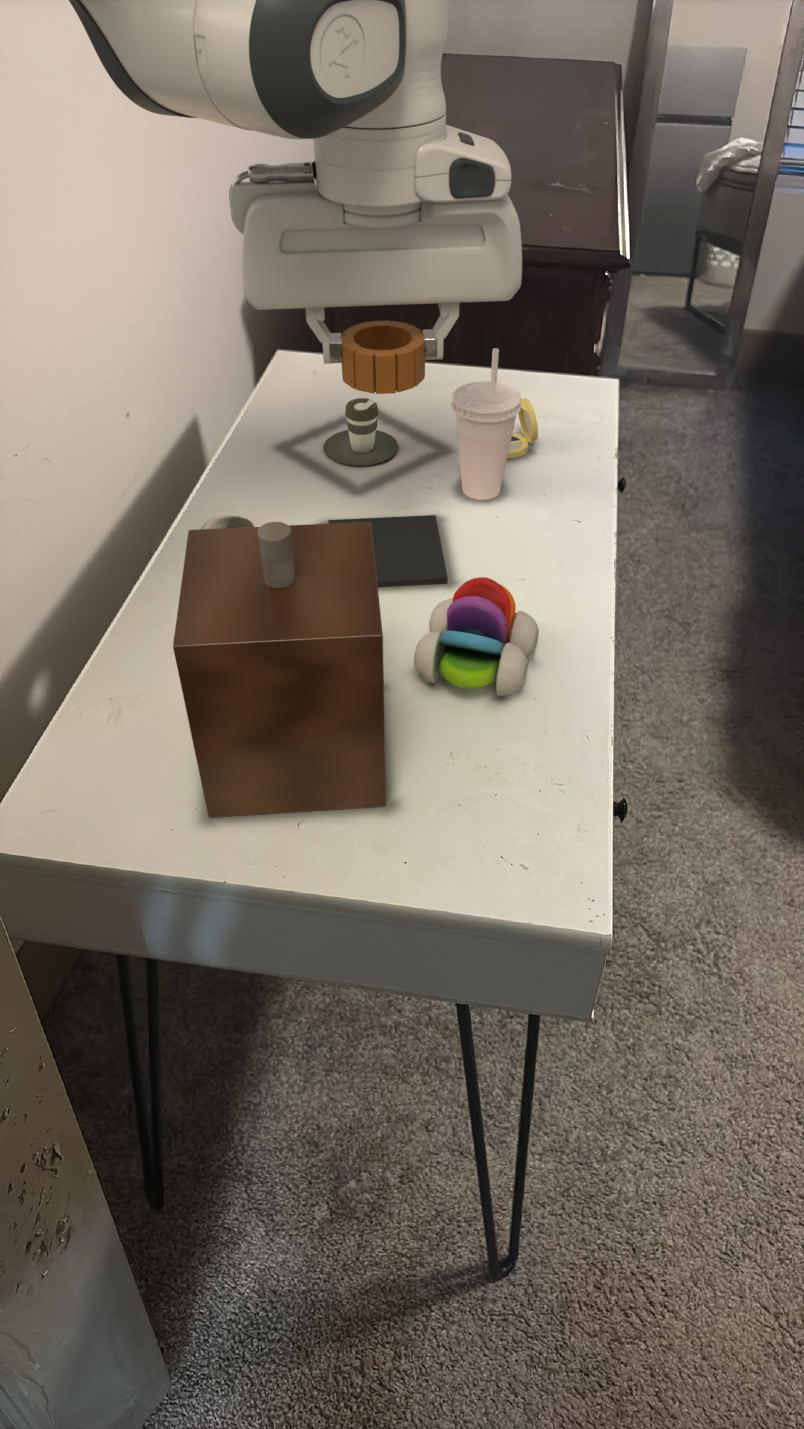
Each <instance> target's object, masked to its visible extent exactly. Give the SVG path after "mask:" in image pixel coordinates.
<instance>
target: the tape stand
mask: <svg viewBox="0 0 804 1429" xmlns="http://www.w3.org/2000/svg"><path fill="white" fill-rule="evenodd" d="M184 553H185V554H184V559H183V560H184V562H183V569H182V576H181V583H180V590H179V596H178V605H177V613H176V622H175V629H174V634H173V635H174V636H173V641H172V642H173V644H172V649H173V654H174V659H175V664H176V668H177V673H178V677H179V683H180V686H181V692H182V697H183V701H184V706H185V711H186V716H187V721H188V725H189V726H188V727H189V730H190V735H191V740H192V745H193V750H194V754H195V759H196V764H197V768H198V774H199V780H200V783H201V788H202V793H203V798H204V802H205V807H206V812H207V817H208V818H224V817H225V818H226V817H239V816H240V817H241V816H242V817H243V816H255V815H256V816H257V815H271V814H288V813H289V814H290V813H303V812H305V813H307V812H321V811H336V810H337V811H338V810H353V809H355V810H356V809H369V808H385V807H387V776H386V774H387V773H386V772H387V771H386V770H387V769H386V727H385V726H386V725H385V722H386V721H385V717H386V716H385V676H384V675H385V674H384V673H385V672H384V669H385V668H384V634H383V633H384V632H383V624H382V613H381V604H380V596H379V595H380V594H379V587H378V584H377V574H376V565H375V555H374V546H373V536H372V526H371V522H351V523H329V524H328V523H310V524H309V523H307V524H287V523H285V522H282V521H269V522H266V523H263V524H262V525H260V526H245V527H244V526H242V527H223V528H221V527H220V528H202V529H189V530H188V531H187V539H186V546H185V552H184Z"/></svg>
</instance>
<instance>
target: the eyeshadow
mask: <svg viewBox="0 0 804 1429" xmlns="http://www.w3.org/2000/svg"><path fill="white" fill-rule="evenodd" d="M517 415H518V419H519V425H520V428H521V431H522V433H523V434H520V433H517V432H513V433H512V438H511V443H510V447H509V452H508V457H507V459H517V458H519V457H522V456H524V455H526V453H527V452H528V450H529V448H528V447H529V443H533V442H535V441H537V440H538V438H539V426H538V420H537V416H536V413H535V410H534V407H533V405H532V402H531V400H530V399H528V398H526V397H525V398H521V410H520V412H519V413H518V414H517Z"/></svg>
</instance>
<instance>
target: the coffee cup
mask: <svg viewBox="0 0 804 1429" xmlns="http://www.w3.org/2000/svg"><path fill="white" fill-rule="evenodd" d="M344 410H345V411H344V415H345V417H346V425H347V429H345V430H341V431H339V432H336V433H334V434H332V435H330V436H329V437H328V438H326V440H325V441H324V443H323V446H322V448H323V453H324V454H325V455H326V456H327V457H328V458H329V459H330V460H332V461H334V462H337V463H339V464H342V465H346V466H355V467H365V466H366V467H367V466H375V465H379V464H382V463H386V462H387V461H390V460H391V459H392V458H394V457H395V456H396V454H397V452H398V451H399V443H398V441H397V439H396V438H395V437H394V436H393V435H390V434H389V433H387V432H386V431H382V430H379V429H378V416H379V408H378V402H377V401H374V399H373V398H368V397H367V398H366V397H358V398H354V399H351V400H349V401H348V402H347V403H346V405H345V409H344Z"/></svg>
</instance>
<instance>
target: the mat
mask: <svg viewBox="0 0 804 1429" xmlns="http://www.w3.org/2000/svg"><path fill="white" fill-rule="evenodd" d="M351 522H371V526H372V536H373V546H374V555H375V565H376V574H377V584H378V588H380V587H381V588H382V587H402V586H423V585H425V586H426V585H441V584H442V585H443V584H444V585H445V584H448V573H447V568H446V563H445V557H444V552H443V546H442V541H441V537H440V531H439V525H438V520H437V516H436V515H435V514H431V515H430V514H428V515H408V516H407V515H406V516H384V517H383V516H382V517H364V518H363V517H362V518H343V519H341V518H340V519H328V523H327V524H329V523H351Z"/></svg>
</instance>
